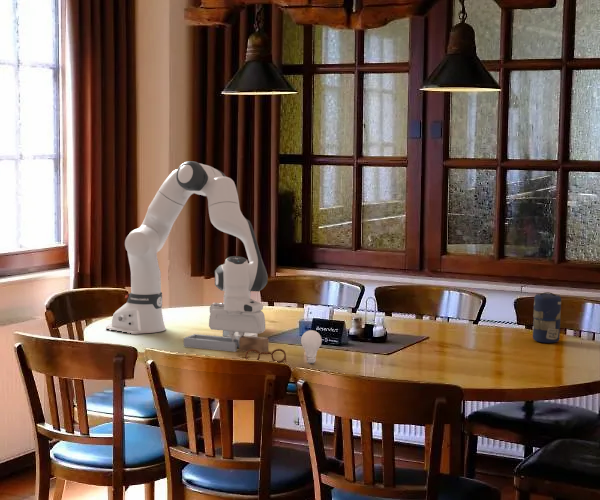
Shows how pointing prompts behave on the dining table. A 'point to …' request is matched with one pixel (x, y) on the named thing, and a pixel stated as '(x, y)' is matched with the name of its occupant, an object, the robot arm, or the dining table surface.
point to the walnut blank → (253, 343)
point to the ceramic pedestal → (245, 334)
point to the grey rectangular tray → (210, 342)
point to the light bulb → (311, 344)
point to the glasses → (267, 353)
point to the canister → (546, 317)
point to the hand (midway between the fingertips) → (236, 344)
